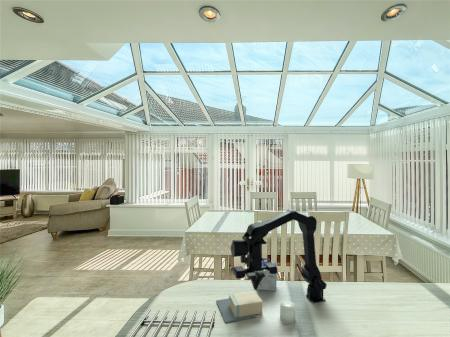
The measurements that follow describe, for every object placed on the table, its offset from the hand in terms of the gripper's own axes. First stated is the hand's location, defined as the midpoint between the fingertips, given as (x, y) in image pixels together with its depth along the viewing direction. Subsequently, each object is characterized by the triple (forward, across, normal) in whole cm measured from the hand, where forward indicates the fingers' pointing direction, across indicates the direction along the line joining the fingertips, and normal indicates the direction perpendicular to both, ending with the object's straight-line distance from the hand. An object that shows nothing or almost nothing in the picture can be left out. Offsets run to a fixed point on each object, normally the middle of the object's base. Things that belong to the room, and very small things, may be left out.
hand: (255, 289), depth 113 cm
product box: (+9, -12, -15) cm, 21 cm away
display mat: (+9, +8, -2) cm, 12 cm away
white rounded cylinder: (+9, -10, +10) cm, 17 cm away
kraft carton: (+6, -2, 0) cm, 6 cm away
